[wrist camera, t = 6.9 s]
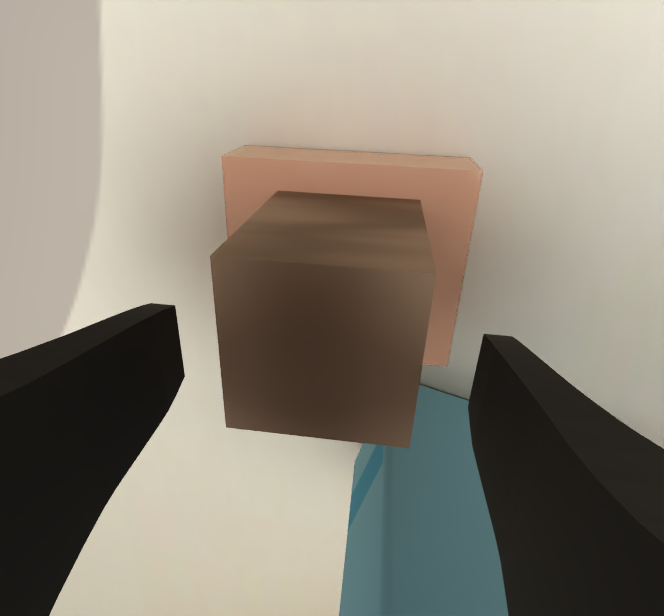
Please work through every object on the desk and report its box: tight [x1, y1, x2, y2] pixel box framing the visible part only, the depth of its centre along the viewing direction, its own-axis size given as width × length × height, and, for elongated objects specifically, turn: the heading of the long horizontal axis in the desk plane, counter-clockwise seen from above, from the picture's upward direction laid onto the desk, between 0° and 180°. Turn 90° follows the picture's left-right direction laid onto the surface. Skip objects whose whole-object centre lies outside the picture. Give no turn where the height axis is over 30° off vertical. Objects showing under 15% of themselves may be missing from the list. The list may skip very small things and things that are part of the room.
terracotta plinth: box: [222, 145, 483, 367], centre depth 16 cm, size 8×7×2 cm
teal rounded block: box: [339, 385, 509, 616], centre depth 16 cm, size 12×4×12 cm, turn 72°
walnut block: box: [210, 191, 436, 448], centre depth 13 cm, size 4×4×6 cm
